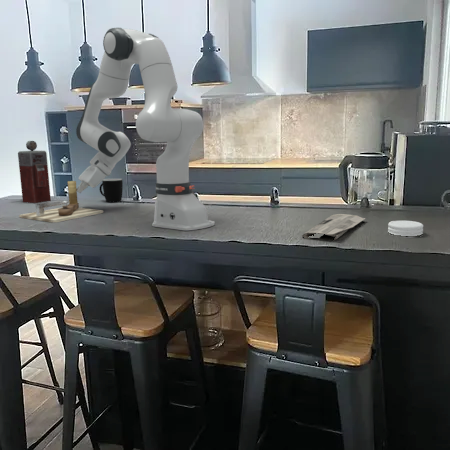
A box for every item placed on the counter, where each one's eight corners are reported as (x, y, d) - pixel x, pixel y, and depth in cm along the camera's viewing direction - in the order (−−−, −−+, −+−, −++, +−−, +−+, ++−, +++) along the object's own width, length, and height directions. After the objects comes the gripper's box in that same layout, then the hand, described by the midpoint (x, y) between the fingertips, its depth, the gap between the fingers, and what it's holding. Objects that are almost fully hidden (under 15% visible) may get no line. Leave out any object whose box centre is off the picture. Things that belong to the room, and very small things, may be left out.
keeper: (74, 214, 181) (73, 200, 180) (52, 218, 173) (51, 204, 172) (58, 211, 186) (57, 198, 185) (36, 215, 178) (35, 202, 177)
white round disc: (427, 233, 144) (428, 222, 144) (415, 239, 137) (416, 228, 136) (395, 229, 151) (396, 218, 150) (382, 235, 144) (382, 223, 143)
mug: (127, 200, 220) (126, 178, 218) (115, 203, 212) (113, 180, 210) (107, 199, 225) (105, 178, 223) (94, 202, 217) (92, 180, 215)
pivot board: (103, 212, 188) (103, 210, 188) (54, 222, 170) (53, 220, 170) (69, 208, 200) (68, 206, 200) (19, 217, 181) (19, 214, 181)
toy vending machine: (38, 203, 215) (32, 141, 210) (22, 202, 221) (16, 141, 215) (54, 200, 223) (49, 140, 217) (38, 199, 228) (33, 140, 223)
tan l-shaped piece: (70, 214, 177) (68, 185, 175) (56, 215, 177) (54, 185, 175) (81, 207, 193) (79, 180, 191) (68, 208, 193) (66, 181, 191)
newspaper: (331, 219, 170) (331, 209, 169) (366, 222, 165) (367, 212, 164) (300, 240, 139) (300, 228, 139) (342, 244, 134) (343, 232, 133)
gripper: (89, 159, 202) (67, 184, 199) (100, 162, 184) (76, 189, 181) (100, 169, 204) (79, 193, 202) (112, 173, 187) (89, 200, 184)
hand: (77, 191), depth 192 cm, fingers closed
